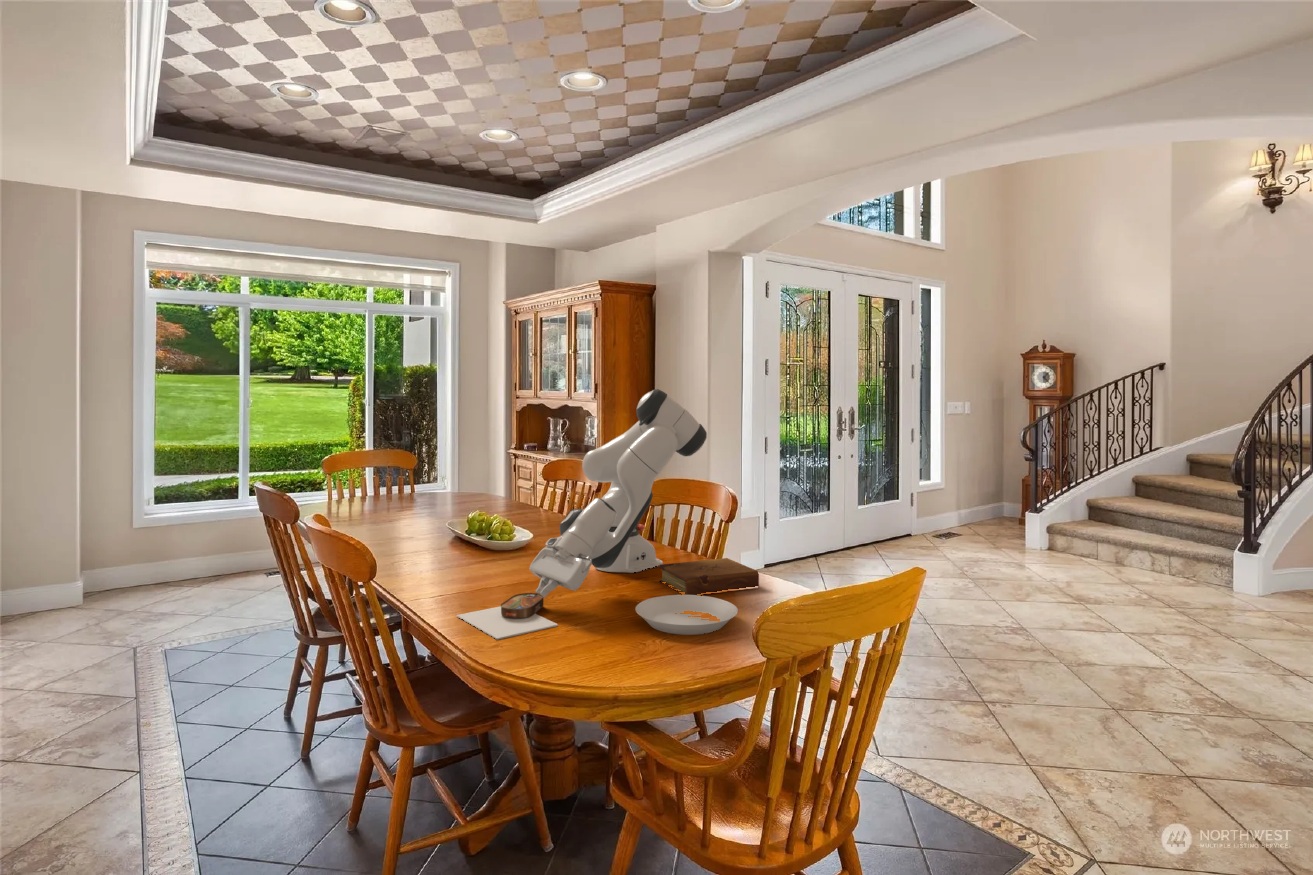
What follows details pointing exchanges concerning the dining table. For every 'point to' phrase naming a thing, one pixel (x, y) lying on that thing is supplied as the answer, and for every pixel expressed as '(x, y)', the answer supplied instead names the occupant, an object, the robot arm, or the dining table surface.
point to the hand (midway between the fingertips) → (539, 595)
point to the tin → (522, 605)
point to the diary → (708, 576)
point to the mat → (505, 623)
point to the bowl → (664, 618)
